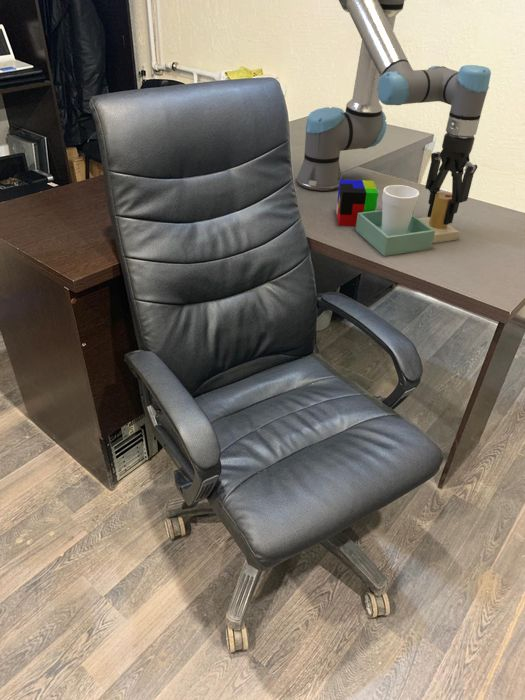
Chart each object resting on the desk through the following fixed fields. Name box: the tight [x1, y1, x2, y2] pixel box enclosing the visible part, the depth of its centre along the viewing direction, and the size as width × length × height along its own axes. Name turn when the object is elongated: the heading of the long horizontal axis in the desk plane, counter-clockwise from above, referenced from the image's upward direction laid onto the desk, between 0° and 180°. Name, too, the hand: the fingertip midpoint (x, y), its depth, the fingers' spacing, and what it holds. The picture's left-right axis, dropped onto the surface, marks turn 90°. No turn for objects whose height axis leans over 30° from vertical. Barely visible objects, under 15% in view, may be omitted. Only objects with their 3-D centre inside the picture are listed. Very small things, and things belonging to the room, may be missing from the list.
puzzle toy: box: [335, 179, 379, 227], centre depth 155 cm, size 10×10×10 cm
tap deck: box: [417, 216, 459, 244], centre depth 150 cm, size 11×10×3 cm
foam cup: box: [381, 184, 420, 236], centre depth 143 cm, size 10×9×13 cm
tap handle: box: [429, 191, 452, 228], centre depth 147 cm, size 5×5×9 cm
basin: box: [354, 209, 435, 257], centre depth 146 cm, size 17×15×5 cm
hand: (439, 219), depth 149 cm, fingers closed on tap handle, 5 cm apart
